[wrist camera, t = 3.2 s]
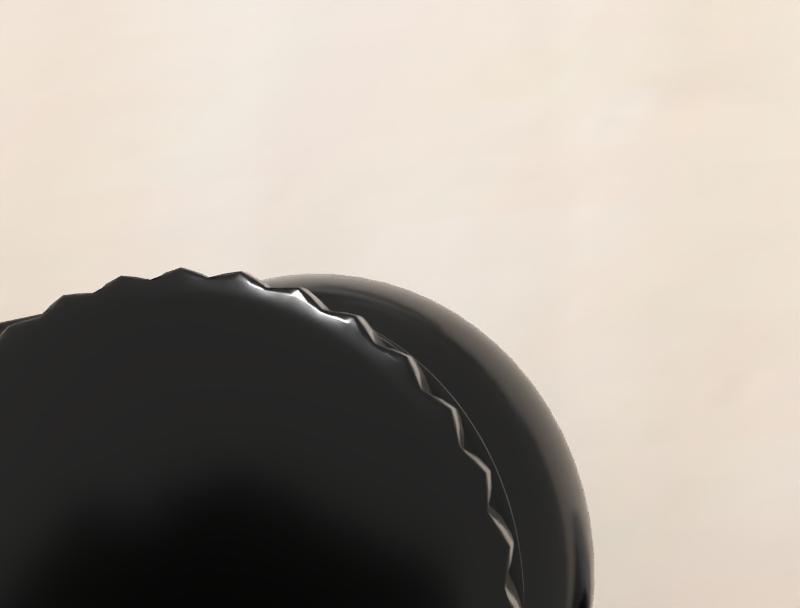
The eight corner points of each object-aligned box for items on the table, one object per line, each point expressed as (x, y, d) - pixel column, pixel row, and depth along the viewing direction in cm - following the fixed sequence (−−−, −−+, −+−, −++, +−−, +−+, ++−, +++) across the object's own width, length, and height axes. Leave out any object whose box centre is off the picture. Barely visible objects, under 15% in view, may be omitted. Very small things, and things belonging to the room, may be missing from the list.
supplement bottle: (506, 699, 14) (573, 1691, 3) (224, 609, 16) (-528, 1047, 4) (565, 395, 16) (778, 230, 4) (301, 334, 17) (-105, 76, 5)
